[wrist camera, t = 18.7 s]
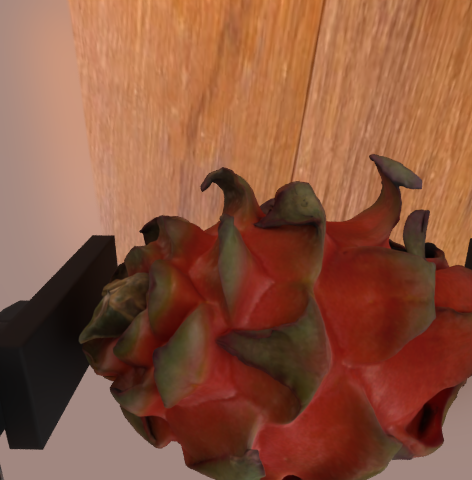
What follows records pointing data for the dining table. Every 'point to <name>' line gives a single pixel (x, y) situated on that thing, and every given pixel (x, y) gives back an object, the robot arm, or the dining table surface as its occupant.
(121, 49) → the dining table surface
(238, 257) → the dragon fruit
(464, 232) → the dining table surface
